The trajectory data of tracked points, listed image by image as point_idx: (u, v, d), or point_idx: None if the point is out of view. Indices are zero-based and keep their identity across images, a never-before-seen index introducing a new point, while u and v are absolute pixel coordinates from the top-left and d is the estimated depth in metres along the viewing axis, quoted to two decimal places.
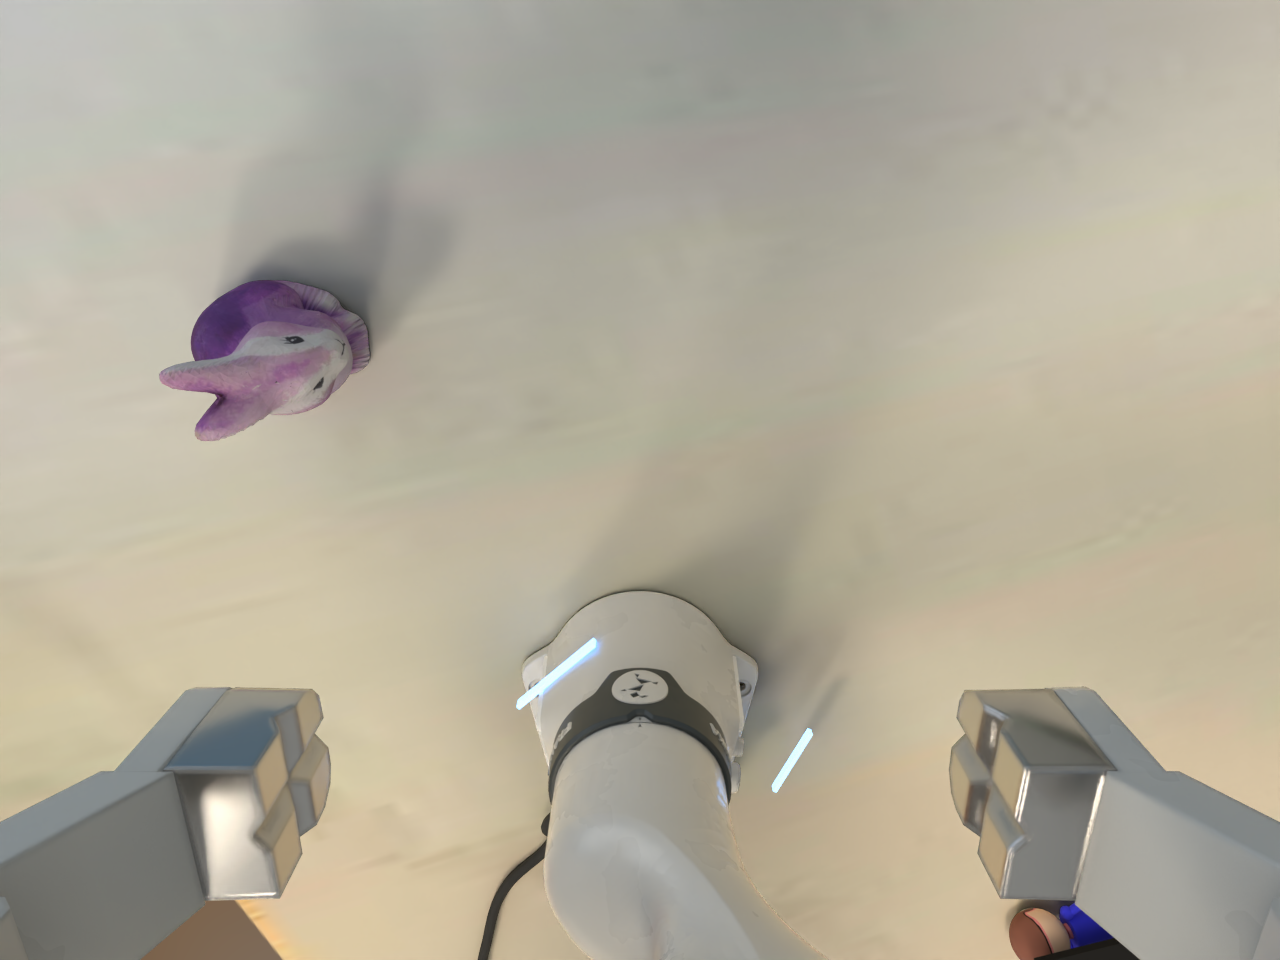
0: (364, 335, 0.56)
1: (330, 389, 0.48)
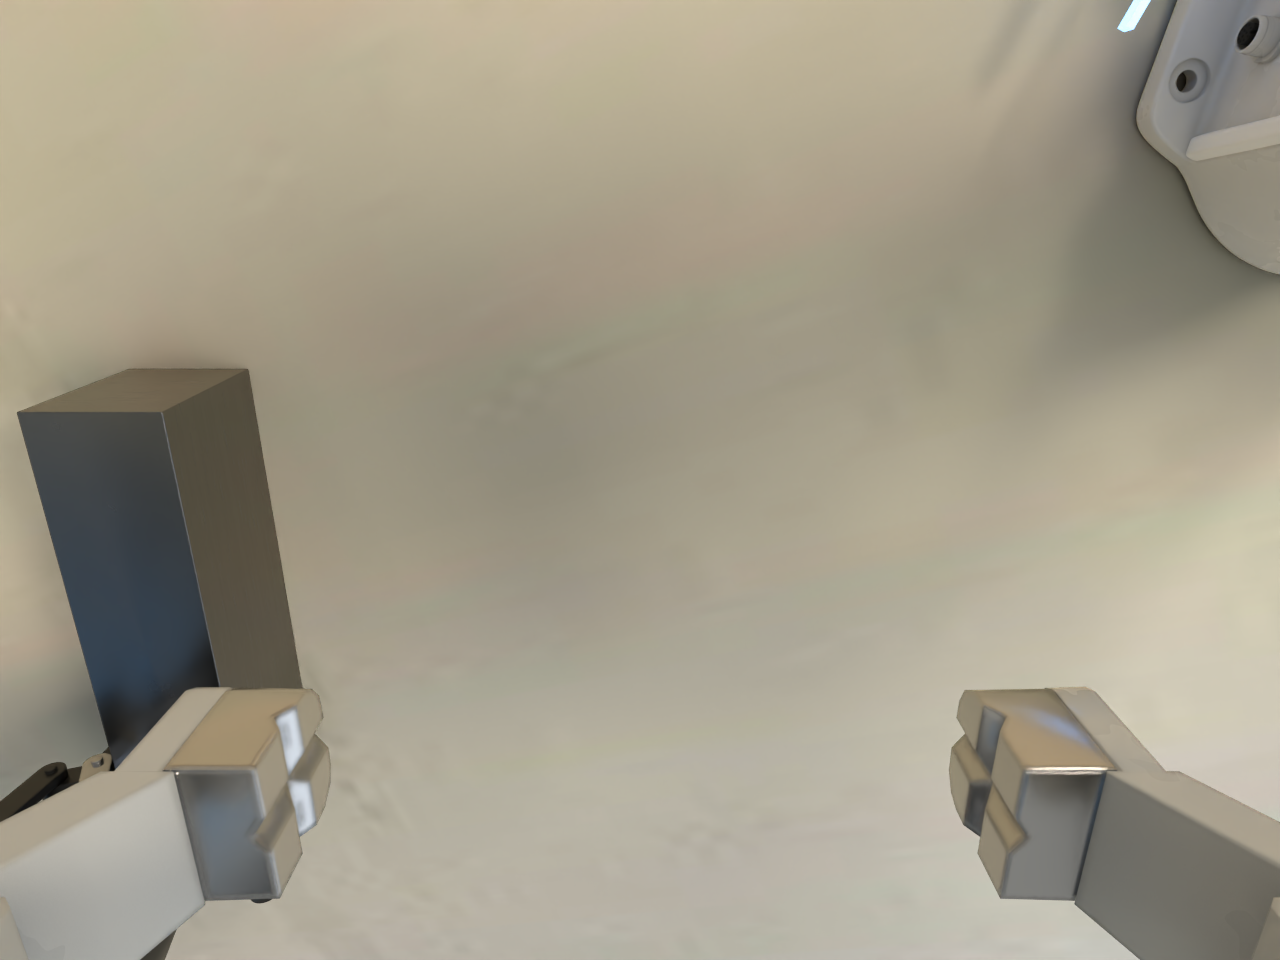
0: None
1: None
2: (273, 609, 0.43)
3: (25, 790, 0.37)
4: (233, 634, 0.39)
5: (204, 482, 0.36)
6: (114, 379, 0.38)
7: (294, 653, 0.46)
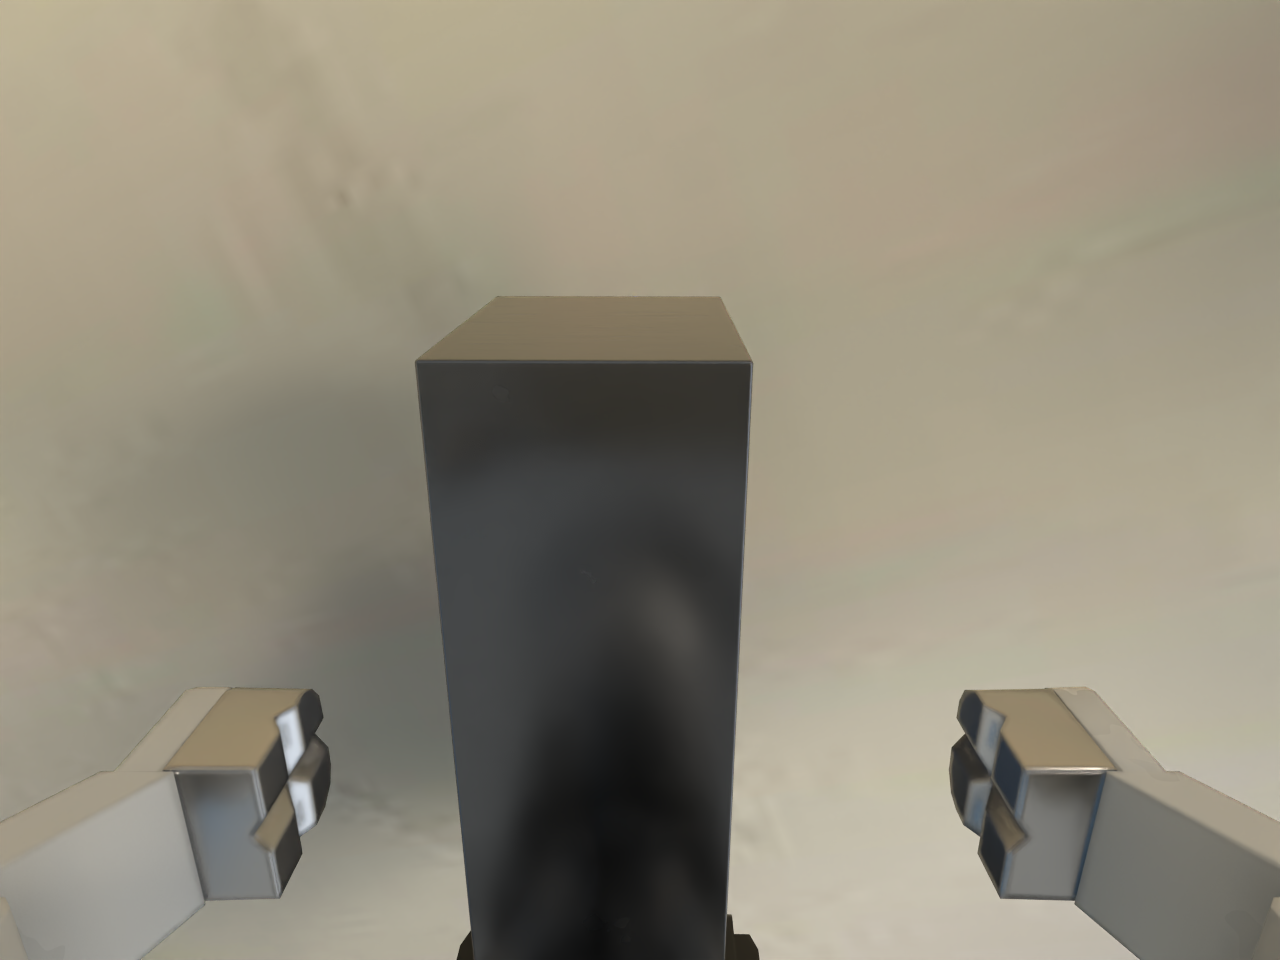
0: None
1: None
2: None
3: None
4: None
5: None
6: (505, 309, 0.20)
7: None
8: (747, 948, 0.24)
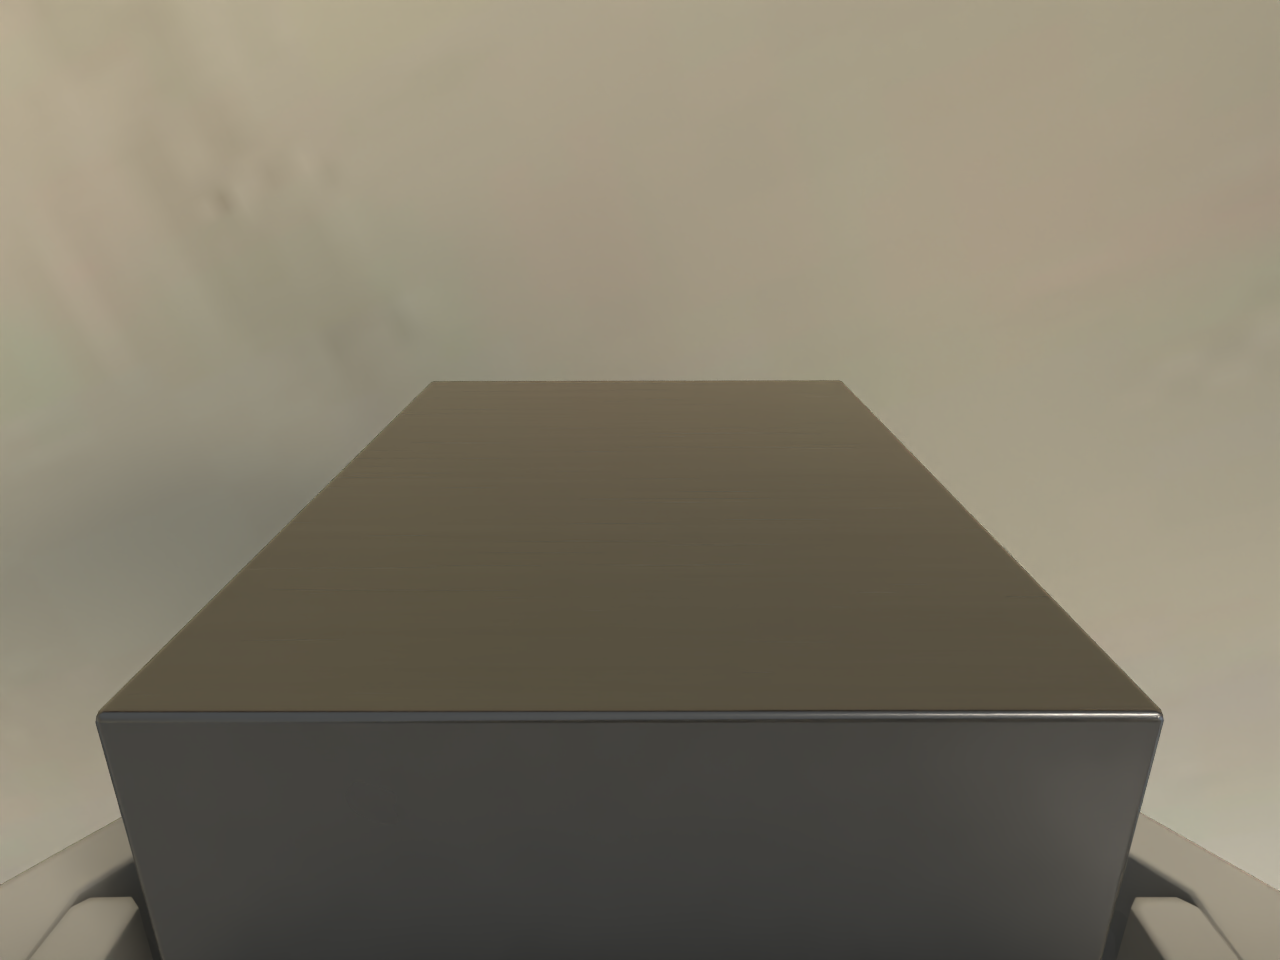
0: None
1: None
2: None
3: None
4: None
5: None
6: (439, 425, 0.10)
7: None
8: None
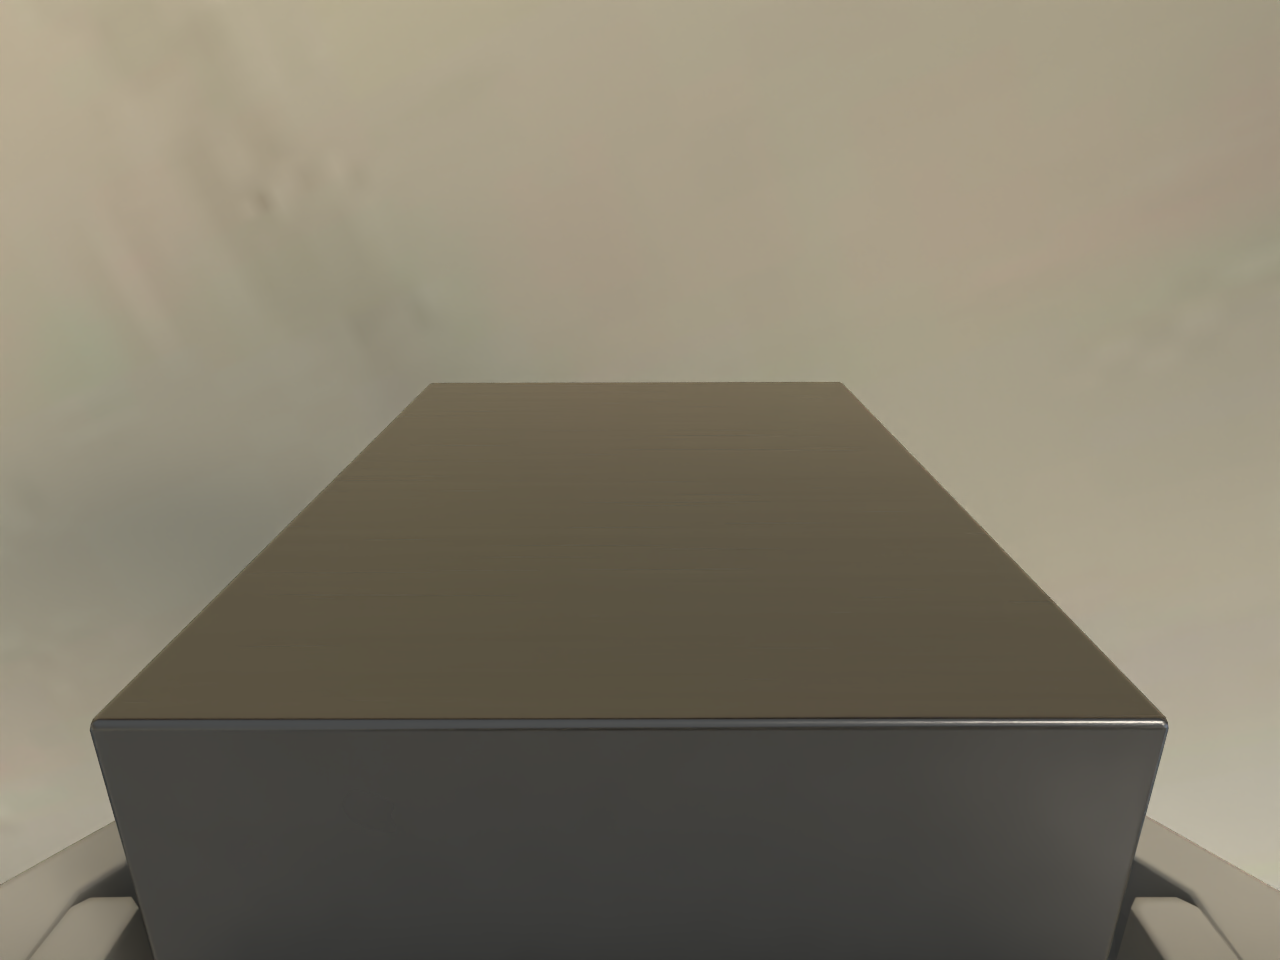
0: None
1: None
2: None
3: None
4: None
5: None
6: (438, 427, 0.10)
7: None
8: None
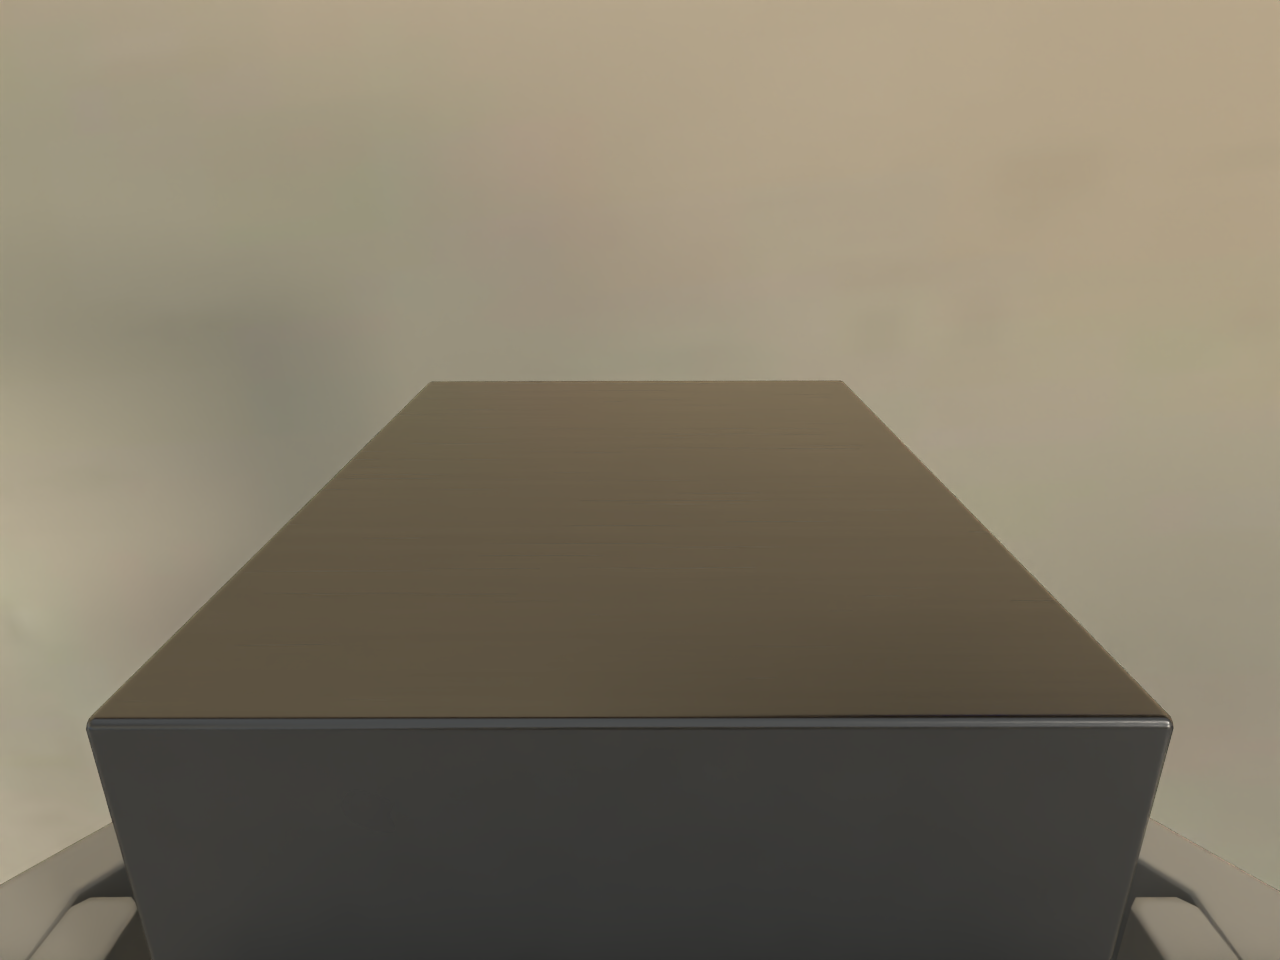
0: None
1: None
2: None
3: None
4: None
5: None
6: (438, 425, 0.10)
7: None
8: None
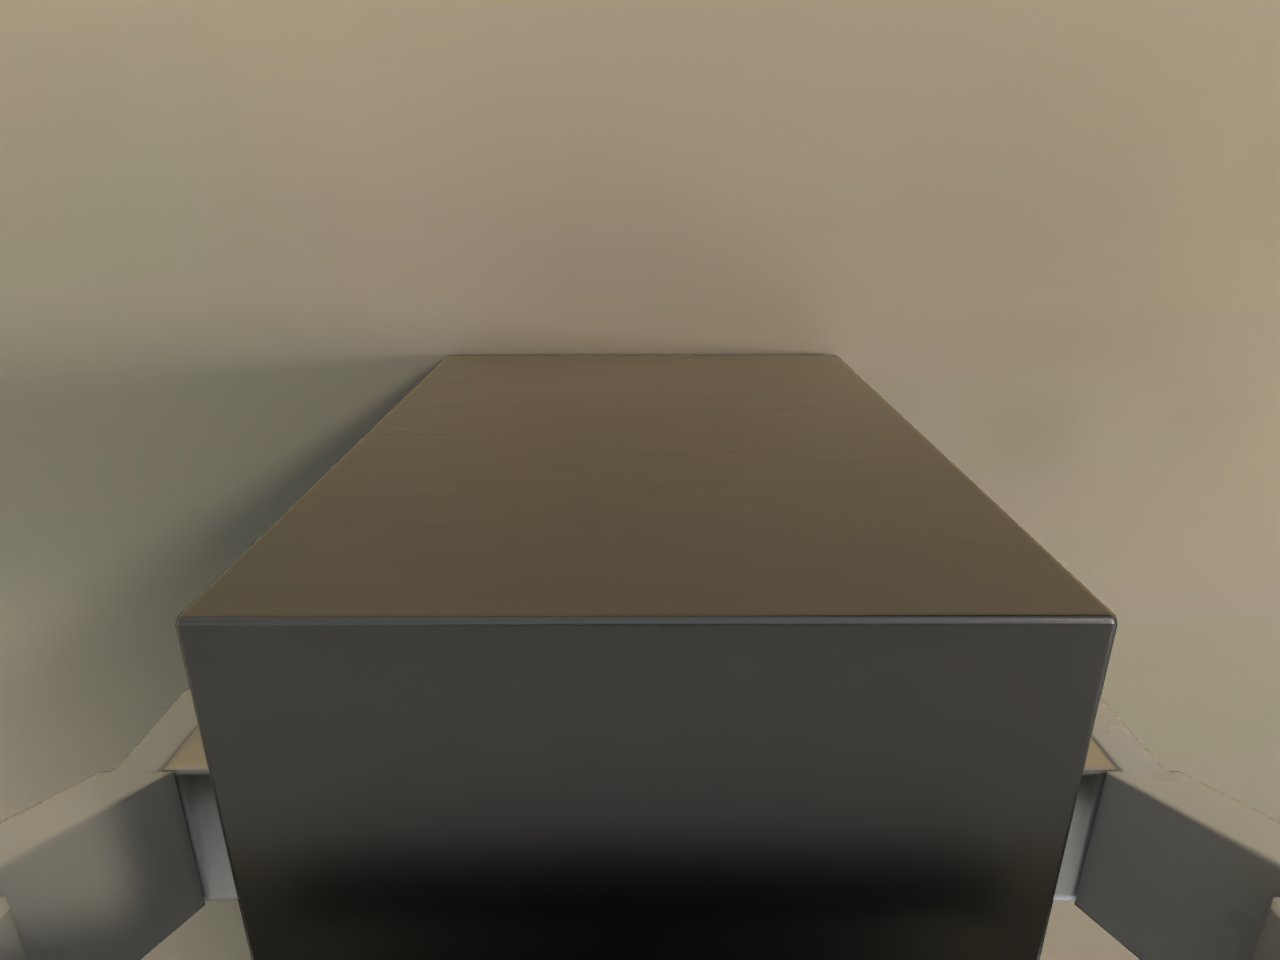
0: None
1: None
2: None
3: None
4: None
5: None
6: (458, 392, 0.10)
7: None
8: None
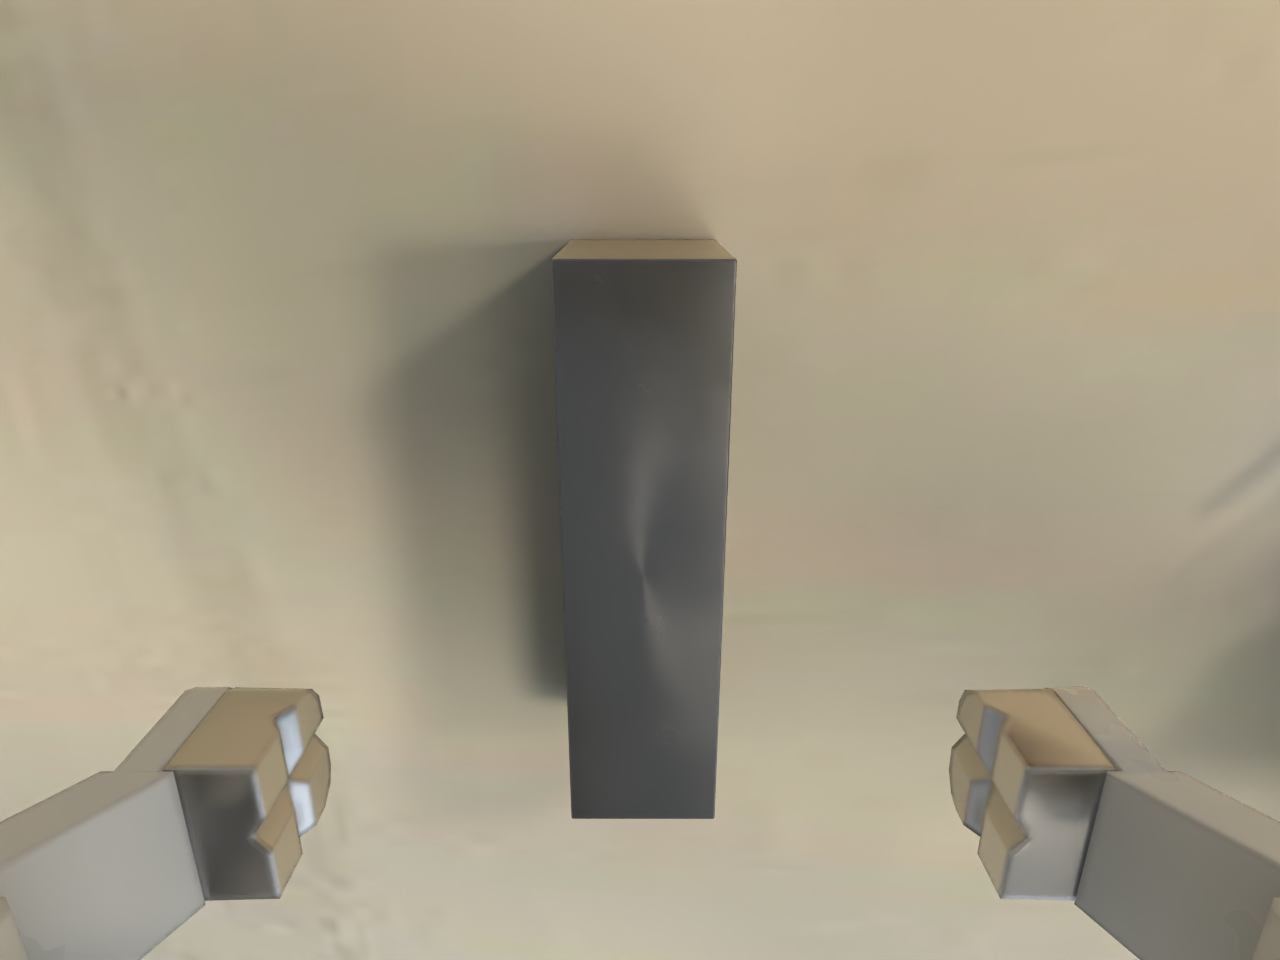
0: None
1: None
2: None
3: None
4: None
5: None
6: (582, 244, 0.31)
7: None
8: None
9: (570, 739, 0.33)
